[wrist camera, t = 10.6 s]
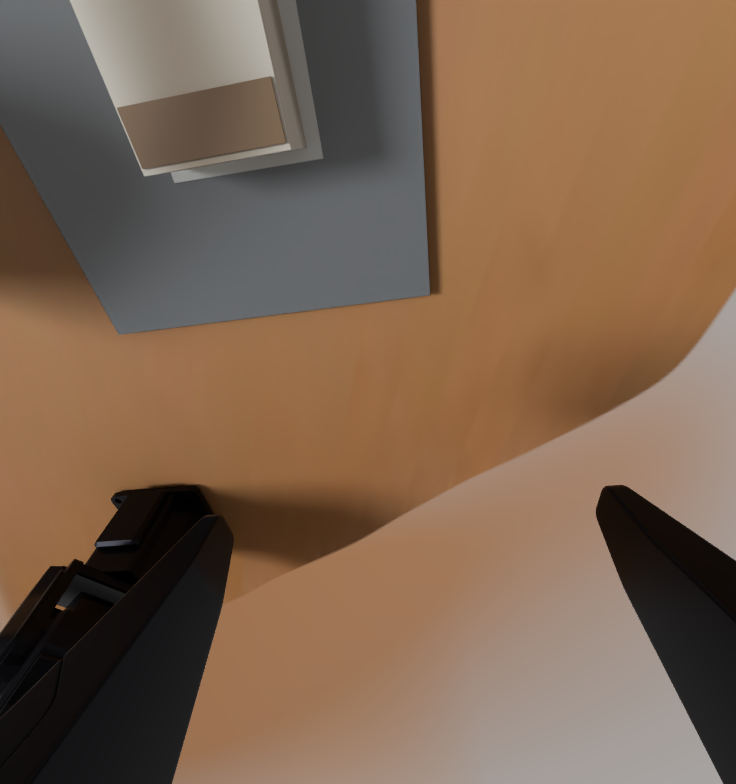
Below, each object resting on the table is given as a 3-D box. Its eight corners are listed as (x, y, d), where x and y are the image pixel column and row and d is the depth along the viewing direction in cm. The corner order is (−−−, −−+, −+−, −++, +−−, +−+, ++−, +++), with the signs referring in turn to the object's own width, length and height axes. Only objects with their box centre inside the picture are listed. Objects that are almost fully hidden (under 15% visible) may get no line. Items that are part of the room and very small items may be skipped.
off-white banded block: (235, -206, 10) (181, -337, 7) (307, 147, 14) (290, 149, 12) (65, -158, 10) (-45, -264, 8) (185, 169, 15) (142, 176, 12)
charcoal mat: (428, 291, 18) (430, 295, 18) (124, 330, 20) (117, 335, 19) (401, -264, 10) (402, -287, 9) (-125, -121, 11) (-148, -132, 11)
